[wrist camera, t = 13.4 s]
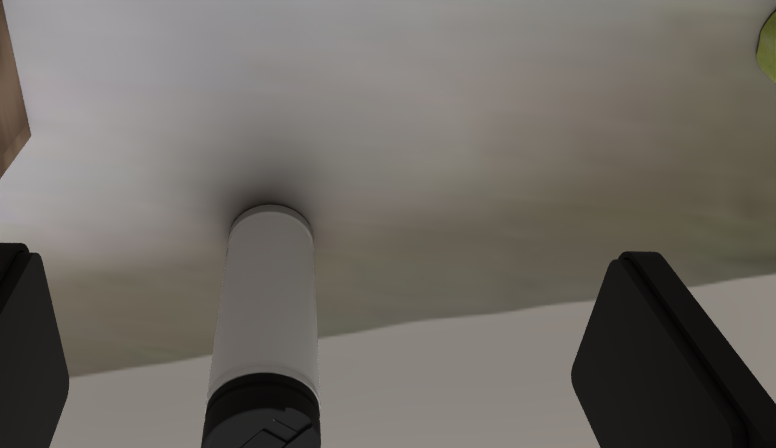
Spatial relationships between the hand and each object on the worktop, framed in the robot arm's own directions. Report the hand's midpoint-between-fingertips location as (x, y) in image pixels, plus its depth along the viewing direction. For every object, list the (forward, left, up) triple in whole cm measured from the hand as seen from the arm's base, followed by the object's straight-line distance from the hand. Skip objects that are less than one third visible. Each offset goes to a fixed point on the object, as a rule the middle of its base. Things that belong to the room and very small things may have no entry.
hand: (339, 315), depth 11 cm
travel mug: (+22, -2, -34) cm, 40 cm away
